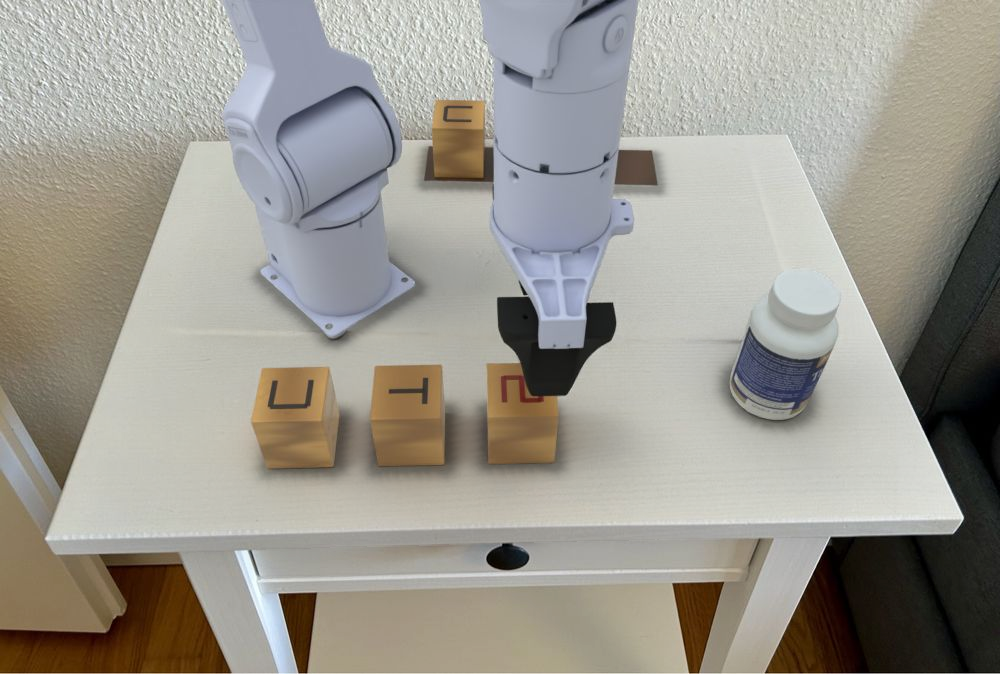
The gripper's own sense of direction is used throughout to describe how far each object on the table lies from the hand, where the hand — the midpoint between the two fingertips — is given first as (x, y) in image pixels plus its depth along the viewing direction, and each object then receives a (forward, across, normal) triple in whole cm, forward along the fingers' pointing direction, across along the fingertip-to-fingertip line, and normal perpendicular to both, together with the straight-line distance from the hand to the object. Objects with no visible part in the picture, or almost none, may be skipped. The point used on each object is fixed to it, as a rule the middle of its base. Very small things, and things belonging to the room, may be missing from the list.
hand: (543, 338), depth 48 cm
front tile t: (+9, 0, +8) cm, 12 cm away
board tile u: (+9, +29, +5) cm, 30 cm away
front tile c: (+9, 0, +15) cm, 18 cm away
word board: (+9, +28, -2) cm, 30 cm away
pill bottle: (+10, +3, -16) cm, 19 cm away
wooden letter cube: (+10, 0, +1) cm, 10 cm away
